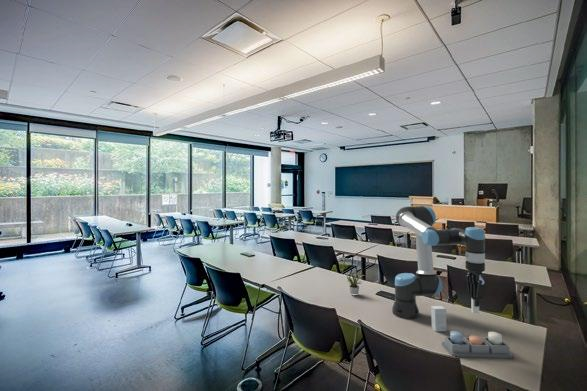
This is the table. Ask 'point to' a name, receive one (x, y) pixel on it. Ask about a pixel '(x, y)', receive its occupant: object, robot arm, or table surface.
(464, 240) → the robot arm
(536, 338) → the table surface
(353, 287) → the house plant
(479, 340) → the button terracotta
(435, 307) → the skincare box
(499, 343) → the button cream
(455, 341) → the blue button
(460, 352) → the tray
